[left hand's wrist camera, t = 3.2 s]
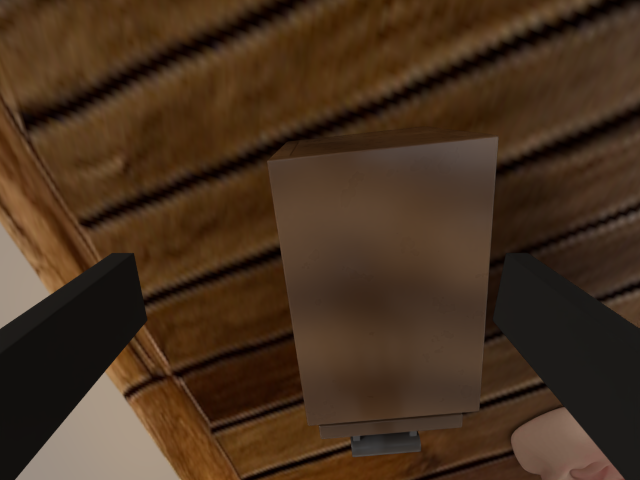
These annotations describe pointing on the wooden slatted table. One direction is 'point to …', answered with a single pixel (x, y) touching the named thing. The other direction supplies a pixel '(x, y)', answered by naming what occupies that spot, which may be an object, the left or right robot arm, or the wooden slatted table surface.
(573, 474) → the anatomical model
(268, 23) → the wooden slatted table surface
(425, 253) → the cabinet
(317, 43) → the wooden slatted table surface
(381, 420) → the drawer
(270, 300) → the wooden slatted table surface
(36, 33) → the wooden slatted table surface
